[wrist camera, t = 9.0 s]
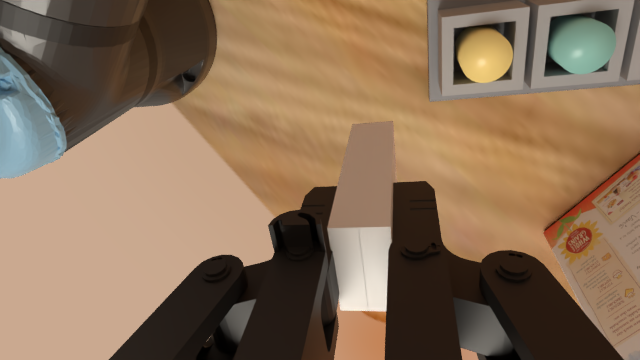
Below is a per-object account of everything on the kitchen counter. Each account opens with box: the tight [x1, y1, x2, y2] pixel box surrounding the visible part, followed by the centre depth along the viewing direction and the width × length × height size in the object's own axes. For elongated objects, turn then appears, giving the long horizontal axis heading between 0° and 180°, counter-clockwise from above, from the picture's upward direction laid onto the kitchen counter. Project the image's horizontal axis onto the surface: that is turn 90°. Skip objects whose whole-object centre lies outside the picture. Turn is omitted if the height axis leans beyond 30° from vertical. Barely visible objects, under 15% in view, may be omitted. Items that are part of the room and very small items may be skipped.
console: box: [427, 0, 640, 102], centre depth 34 cm, size 22×10×5 cm, turn 99°
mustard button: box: [454, 24, 513, 83], centre depth 34 cm, size 4×4×4 cm
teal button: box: [546, 13, 616, 74], centre depth 33 cm, size 4×4×4 cm
